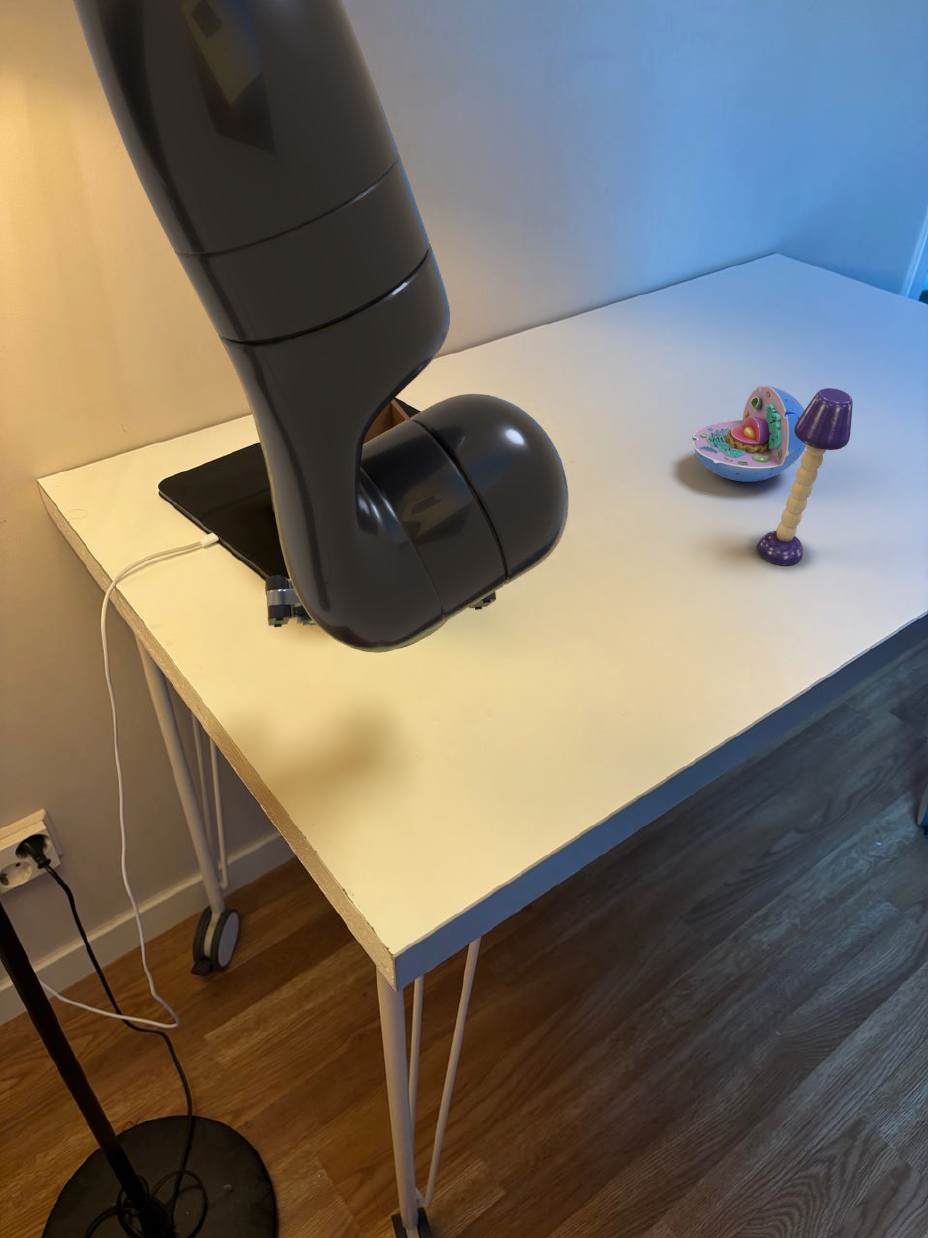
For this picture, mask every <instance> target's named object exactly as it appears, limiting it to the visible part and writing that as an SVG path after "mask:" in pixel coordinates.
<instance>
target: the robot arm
mask: <svg viewBox="0 0 928 1238" xmlns="http://www.w3.org/2000/svg"><path fill="white" fill-rule="evenodd" d="M72 3H73V6H74V10H75V12H76V16H77V18H78V20H79V24H80V27H81V31H82V33H83V36H84V37H83V38H84V41H85V43H86V46H87V49H88V52H89V55H90V57H91V60H92V63H93V66H94V70H95V72H96V75H97V78H98V81H99V84H100V86H101V89H102V92H103V95H104V97H105V100H106V102H107V105H108V108H109V111H110V114H111V116H112V119H113V121H114V123H115V127H116V128H117V131H118V134H119V136H120V138H121V141H122V143H123V146H124V148H125V151H126V152H127V153H126V154H127V155H128V158H129V160H130V163H131V164H132V167H133V169H134V171H135V173H136V175H137V178H138V181H139V183H140V184H141V187H142V189H143V191H144V193H145V196H146V197H147V199H148V202H149V203H150V205H151V208H152V209H153V212H154V214H155V216H156V218H157V220H158V222H159V224H160V226H161V228H162V230H163V232H164V234H165V235H166V238H167V240H168V242H169V244H170V246H171V247H172V249H173V252H174V254H175V255H176V258H177V260H178V262H179V263H180V265H181V267H182V269H183V271H184V273H185V275H186V276H187V279H188V280H189V283H190V285H191V286H192V288H193V290H194V292H195V294H196V296H197V298H198V299H199V302H200V304H201V306H202V307H203V309H204V311H205V313H206V315H207V317H208V319H209V321H210V323H211V325H212V326H213V329H214V330H215V332H216V333H217V335H218V337H219V339H220V341H221V344H222V346H223V348H224V350H225V353H226V354H227V355H228V358H229V360H230V362H231V364H232V366H233V368H234V370H235V372H236V374H237V378H238V380H239V382H240V385H241V387H242V390H243V393H244V396H245V398H246V401H247V404H248V406H249V409H250V411H251V415H252V418H253V421H254V425H255V428H256V433H257V436H258V440H259V444H260V448H261V451H262V455H263V459H264V460H263V461H264V463H265V468H266V474H267V478H268V482H269V490H270V489H271V491H270V496H271V495H272V500H271V502H272V501H273V507H274V511H273V514H274V518H275V523H276V529H277V534H278V539H279V544H280V549H281V552H282V556H283V558H284V559H283V560H284V565H285V567H286V571H287V574H288V577H289V578H287V576H281V575H280V574H274V575H271V577H266V578H265V585H264V593H265V597H266V607H267V609H266V610H267V625H268V626H269V627H270V626H272V627H273V628H282V627H283V626H285V625H288V623H289V621H290V620H295V619H296V625H302V626H317V627H319V629H320V630H322V632H324V633H325V634H326V635H328V636H329V637H330V638H332V639H333V640H335V641H336V642H338V643H340V644H342V645H345V646H347V647H348V648H351V649H353V650H357V651H360V652H364V653H374V654H379V653H388V652H392V651H395V650H399V649H404V648H407V647H409V646H412V645H414V644H416V643H418V642H421V641H422V640H424V639H426V638H428V637H430V636H431V635H433V634H434V633H435V632H438V631H439V630H440V629H441V628H442V627H443V626H444V625H445V624H446V623H447V622H448V621H449V620H451V619H452V618H454V617H456V616H457V615H459V614H460V613H463V612H464V611H466V610H467V609H474V610H475V611H479V610H483V608H487V607H489V606H490V605H492V604H493V603H494V602H495V601H497V593H496V591H498V590H500V589H501V588H503V587H504V586H507V585H508V584H511V583H512V582H514V581H515V580H517V579H518V578H520V577H522V576H523V575H525V574H527V573H528V572H530V571H532V570H533V569H535V568H536V567H537V566H539V565H540V564H542V563H543V562H544V561H545V560H547V559H548V558H549V557H550V556H551V555H552V553H553V552H554V551H555V549H556V548H557V546H558V545H559V543H560V541H561V539H562V537H563V534H564V532H565V529H566V525H567V520H568V515H569V487H568V480H567V475H566V472H565V468H564V465H563V461H562V458H561V456H560V454H559V452H558V450H557V448H556V446H555V444H554V442H553V441H552V439H551V438H550V436H549V435H548V433H547V432H546V431H545V430H544V428H543V427H542V426H541V425H540V424H539V422H537V420H536V419H534V417H532V416H531V415H530V414H528V412H526V411H525V410H524V409H522V408H521V407H519V406H517V405H516V404H514V403H512V402H509V401H507V400H505V399H502V398H500V397H498V396H493V395H490V394H485V393H484V394H482V393H465V394H464V393H463V394H458V395H455V396H452V397H448V398H445V399H444V400H441V401H439V402H437V403H436V402H435V404H432V405H431V406H428V407H427V408H424V409H423V410H422V411H419V412H418V413H416V414H414V415H413V416H411V417H409V418H410V419H409V420H406V421H404V422H402V423H400V424H398V425H397V426H395V427H393V428H391V429H390V430H388V431H386V432H384V433H382V434H381V435H379V436H377V437H375V438H374V439H372V440H370V441H368V442H366V443H365V444H364V439H365V437H366V434H367V432H368V430H369V429H370V427H371V426H372V424H373V422H374V421H375V419H376V418H377V417H378V416H379V414H380V413H381V412H382V411H383V410H384V409H385V407H386V406H387V405H388V404H389V403H390V402H391V401H392V400H393V399H394V400H395V399H396V397H398V396H399V394H401V392H402V391H403V390H404V389H406V388H407V387H408V386H409V385H410V384H411V383H412V382H413V381H415V380H416V378H418V377H419V375H421V373H423V372H424V370H425V369H426V368H427V367H428V366H429V365H430V364H431V363H432V361H433V360H434V359H435V358H436V356H437V355H438V353H439V352H440V351H441V349H442V347H443V346H444V344H445V342H446V340H447V337H448V334H449V330H450V325H451V310H450V304H449V298H448V294H447V290H446V287H445V284H444V281H443V278H442V275H441V271H440V268H439V265H438V262H437V259H436V256H435V253H434V250H433V247H432V245H431V243H430V239H429V236H428V234H427V230H426V228H425V224H424V222H423V219H422V216H421V213H420V210H419V207H418V204H417V202H416V199H415V195H414V193H413V190H412V187H411V184H410V181H409V179H408V176H407V172H406V170H405V167H404V164H403V161H402V158H401V155H400V153H399V149H398V146H397V143H396V141H395V138H394V135H393V133H392V130H391V127H390V124H389V121H388V118H387V116H386V113H385V110H384V108H383V105H382V102H381V99H380V96H379V93H378V92H377V89H376V86H375V83H374V81H373V78H372V75H371V71H370V70H369V66H368V64H367V62H366V59H365V56H364V54H363V51H362V48H361V46H360V43H359V40H358V39H357V35H356V33H355V30H354V28H353V26H352V23H351V20H350V18H349V15H348V13H347V10H346V8H345V5H344V3H343V0H72Z"/></svg>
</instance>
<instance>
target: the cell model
mask: <svg viewBox="0 0 928 1238" xmlns="http://www.w3.org/2000/svg"><path fill="white" fill-rule="evenodd" d="M805 409H806V408H804V406H803V405H802V404H801V402H800V401H799V400H798V399H796V398H795V396H793V395H792V394H790V393H789V392H787V391H785V390H783V389H781V388H778V387H775V386H769V385H758V386H757V387H755V388H754V390H753V391H752V392H751V393H750V395H749V396H748V398H747V400H746V402H745V404H744V409H743V413H742V419H738V420H737V419H735V420H725V421H718V422H713V423H711V424H707V425H705V426H702V427H701V428H700V429H698V430H696V431H695V432H694V433H693V434H692V437H691V438H692V439H691V440H692V441H691V442H692V447H693V450H694V452H695V454H696V457H697V459H698V460H699V462H700V463H701V464H702V465H703V466H704V467H705V469H707V470H708V471H710V472H712V473H714V474H715V475H717V476H719V477H720V478H724V479H727V480H730V481H735V482H741V483H742V482H744V483H752V482H753V483H755V482H760V481H765V480H768V479H771V478H774V477H775V476H777V475H780V474H782V473H783V472H785V471H786V470H788V469H789V468H790V467H791V466H793V465H794V464H795V463H796V462H797V461H798V460H799V458H800V457H802V455H803V454H804V452H805V451H806V444H805V443H803V442H802V441H800V440H799V439H798V438H797V437H796V435H795V432H794V428H795V425H796V423H797V421H798V420H799V418H800V417H801V415H802V414H803V412H804V411H805Z"/></svg>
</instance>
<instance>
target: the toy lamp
mask: <svg viewBox="0 0 928 1238" xmlns="http://www.w3.org/2000/svg"><path fill="white" fill-rule="evenodd" d="M804 409H805V411H804V412H803V414H802V415H801V417H800V418H799V420H798V421H797V423H796V425H795V428H794V432H795V435H796V437H797V438H798V439H799V440H800V441H802V442H803V443H805V444H806V448H805V450H804V451H803V453H802V455H801V460H800V461H801V462H800V464H801V465H799V467H798V468H797V470H796V474H795V480H793V483H792V484H791V488H790V494H789V495H788V497H787V499H786V502H785V508H784V510H783V511H782V513H781V516H780V522H779V523H778V525H777V527H776V530H773V531H770V532H767V533H765V534H764V535H763V536H762V537H761V538H760V539H759V541H758V543H757V546H756V550H757V552H758V554H759V555H760V556H761V557H762V558H764V559H765V560H766V561H768V562H771V563H773V564H776V565H780V566H793V565H795V564H798V563H799V562H801V560H802V559H803V555H804V549H803V545H802V542H801V540H800V539H799V538H798V537H797V536H796V535H797V531H798V529H797V528H798V526H799V525H800V523H801V520H802V518H803V512H804V511H805V510H806V507H807V506H808V498H809V497H810V496H811V494H812V491H813V484H814V483H815V481H816V480H817V478H818V473H819V471H818V470H819V469H820V468H821V466H822V464H823V460H824V454H825V453H826V452H827V451H837V450H840V449H842V448H845V447H846V446H847V445H848V444H849V442H850V438H851V429H852V418H853V398H852V396H851V395H850V394H849V393H847V392H846V391H844V390H841V389H838V388H833V387H832V388H831V387H825V388H822V389H820V390H818V391H817V392H816V393H815V395H814V396H813V398H812V399H811V401H810V402H809V403H808V405H807V406H806V408H804Z"/></svg>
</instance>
